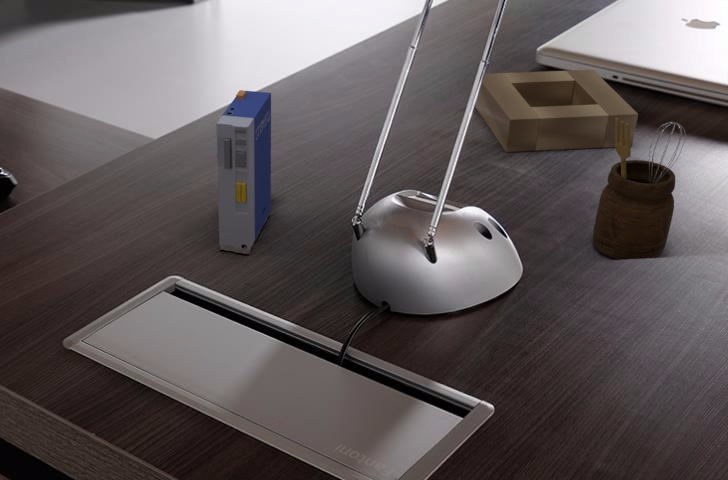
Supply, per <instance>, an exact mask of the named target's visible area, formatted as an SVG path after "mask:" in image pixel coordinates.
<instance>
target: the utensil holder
mask: <svg viewBox="0 0 728 480" xmlns="http://www.w3.org/2000/svg"><path fill="white" fill-rule="evenodd" d="M670 125H673V126H672V128H671V131H670V134H669V137H668V138H667V142H666V144H665V146H664V147H665V148H664V150H663V152H662V155H661V158H660V161H659V163H658V162H654V155H655V150H656V148H657V145H658V143H659V140H660V137H661V135H662V134H663V132H664V130H666V129H667V128H668V127H669V126H670ZM676 126H677V127H678V128H679V131H680V136H679V140H678V143H677V145H676V148H675V150H674V153H673V155H672V156H671V159H670V160H669V161H668V163H667V164H666V166H665V165H663V164H662V162H663V160H664V158H665V155H666V152H667V149H668V147H669V144H670V142H671V138H672V135H673V133H674V130H675V127H676ZM661 127H662V128H661ZM660 128H661V130H660V132H659V134H658V137H657V139H656V142H655V145H654V149H653V153H652V157H651V161H650V160H642V159H641V160H640V159H629V158H630V157H631V156H632V155H631V154H632V153H631V152H632V151H631V146H630V133H629V124H628V123H626V124H625V132H624V121H620V130H619V119H618V118H616V119H615V147H614V148H615V151H616V154H618V156H619V158H620V161H619V162H617V163H615V164H613V165H612V167H611V168H610V170H609V173H608V175H607V183H608V184H607V185H606V186H604V188H603V190H602V192H601V194H600V197H599V201H598V205H597V210H596V215H595V220H594V226H593V233H592V241H593V245H594V247H595V248H596V250H597V251H599V252H600V253H601V254H603V255H604V256H607V257H608V258H611V259H614V260H617V261H624V260H645V259H657V258H658V257H660V256H661V255H662V253H663V251H664V249H665V247H666V243H667V241H668V237H669V234H670V233H669V232H670V228H671V224H672V221H673V216H674V211H675V198H674V195H673V192H674V190H675V187H676V175H675V172H674V171H673V170H672V167H673V166H674V165H675V164H676V162H677V160H678V159H679V157H680V155H681V153H682V150H683V147H684V144H685V142H686V136H687V135H686V130H685V129H684V127H683V126H682V125H681V124H680V123H678V122H674V121H668V122H666V123H664V124H661V126H660V127H658V129H657V130H656V132H655V134H654V136H653V139H652V141H651V143H650V148H649V151H648V156H651V155H650V153H651V149H652V145H653V143H654V140H655V137H656V136H657V133H658V131H659V129H660ZM683 132H684V139H683V143H682V146H681V149H680V151H679V154H678V156H677V157H676V155H677V152H678V150H679V147H680V144H681V141H682V135H683ZM675 158H676V159H675ZM627 159H629V160H627ZM674 159H675V161H674ZM673 161H674V162H673ZM672 163H673V164H672ZM671 164H672V165H671Z"/></svg>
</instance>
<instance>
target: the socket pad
mask: <svg viewBox="0 0 728 480" xmlns="http://www.w3.org/2000/svg"><path fill="white" fill-rule="evenodd" d="M484 74H485V77H484V80H483V83H482V86H481V89H480V93H479V96H478V99H477V103H476V107H474V108H475V111H477V113H478V114H479V115H480V117H481V118H482V120H483V121H484V123H485V124H486V126H487V127H488V129H489V130H490V131H491V133H492V134H493V136H494V137H495V138H496V141H498V143H499V144H500V146H501V147H502V148H503V150H504V151H505V153H515V152H516V153H517V152H536V151H559V150H581V149H583V150H585V149H602V148H616V147H615V119H616V118H618V119H619V130H620V121H624V132H625V124H626V123H628V124H629V133H630V147H632V146H633V142H634V137H635V133H636V127H637V123H638V117H639V113H638V112H637V111H636V110H635V109H634V108H633V107H632V106H631V105H630V104H629V103H628V102H626V100H625V99H624V98H623V97H622V96H621V95H620V94H618V93H617V91H615V89H614V88H612V86H610V85H609V83H607V82H606V81H605V79H603V78H602V77H601V76H600V75H599V74H598V73H597V72H596V71H595V70H594V69H593V68H592V69H571V70H549V71H548V70H547V71H523V72H504V73H503V72H498V73H496V72H495V73H493V72H492V73H484Z"/></svg>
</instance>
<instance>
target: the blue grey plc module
mask: <svg viewBox="0 0 728 480" xmlns="http://www.w3.org/2000/svg"><path fill="white" fill-rule="evenodd" d="M215 127H216V161H217V162H216V163H217V195H218V196H217V197H218V198H217V202H218V205H217V206H218V234H219V235H218V237H219V238H218V239H219V240H218V241H219V243H218V244H219V245H220V244H221V245H229V246H234V247H235V248H240V249H243V248H244V247H245V246H246V250H249V249H250V247H251V246H252V244H253V242H254V240H255V238H256V237H257V235H258V233H259V231H260V230H261V228H262V226H263V224H264V222H265V220H266V218H267V216H268V215H269V213H270V211H271V212H272V209H271V208H272V207H271V205H272V92H267V91H266V92H264V91H254V90H242V89H241V90H239V91H238V92H237V93H236V94H235V97H234V99H233V100H232V101H231V103H230V104H229V105H228V107H227V108H226V110H225V111H224V112H223V114H222V115H221V116H220V117H219V120H218V121H217V122H216V126H215Z"/></svg>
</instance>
